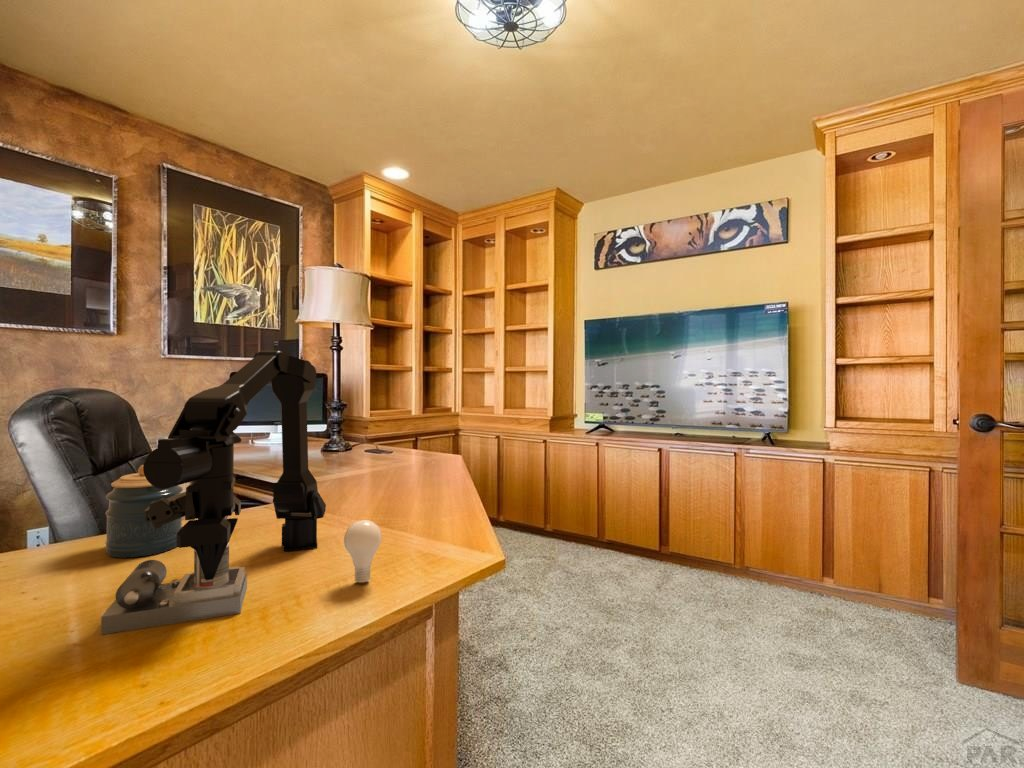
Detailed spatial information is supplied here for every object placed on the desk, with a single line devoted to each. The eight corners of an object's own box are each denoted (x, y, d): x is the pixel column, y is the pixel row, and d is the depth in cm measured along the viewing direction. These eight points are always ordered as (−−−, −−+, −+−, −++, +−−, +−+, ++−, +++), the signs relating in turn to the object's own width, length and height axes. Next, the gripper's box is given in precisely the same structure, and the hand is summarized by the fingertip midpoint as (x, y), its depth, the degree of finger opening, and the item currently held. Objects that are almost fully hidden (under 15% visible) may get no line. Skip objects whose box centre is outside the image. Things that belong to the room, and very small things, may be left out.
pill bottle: (235, 580, 79) (236, 528, 79) (209, 592, 75) (209, 537, 75) (213, 576, 81) (214, 525, 81) (186, 587, 76) (187, 533, 76)
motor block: (246, 587, 84) (247, 547, 84) (239, 615, 74) (240, 569, 74) (124, 604, 78) (125, 560, 78) (99, 636, 68) (99, 586, 68)
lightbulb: (346, 593, 83) (347, 527, 83) (340, 579, 88) (341, 518, 88) (384, 586, 86) (385, 523, 86) (376, 573, 91) (377, 514, 91)
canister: (157, 535, 112) (158, 457, 112) (196, 543, 107) (197, 461, 107) (90, 553, 100) (91, 466, 100) (130, 563, 95) (131, 471, 95)
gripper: (166, 468, 83) (166, 560, 83) (131, 491, 66) (131, 607, 66) (241, 464, 88) (240, 551, 88) (227, 485, 70) (226, 594, 71)
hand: (212, 573), depth 78 cm, fingers closed on pill bottle, 5 cm apart
